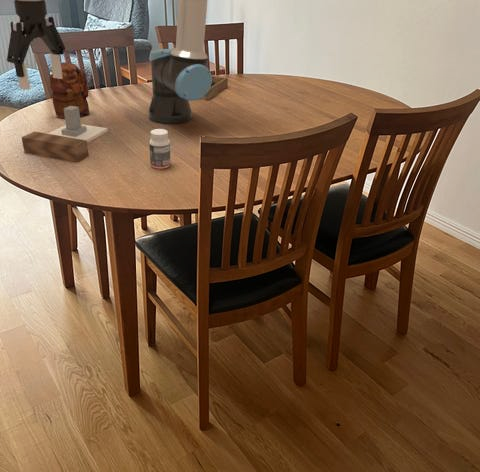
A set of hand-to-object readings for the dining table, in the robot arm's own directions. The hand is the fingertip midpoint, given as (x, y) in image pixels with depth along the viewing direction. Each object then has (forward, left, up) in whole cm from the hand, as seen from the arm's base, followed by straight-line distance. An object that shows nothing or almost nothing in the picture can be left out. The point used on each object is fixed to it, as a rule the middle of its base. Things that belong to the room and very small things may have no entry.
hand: (42, 83), depth 140 cm
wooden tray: (-15, -79, -20) cm, 83 cm away
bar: (-3, +2, -20) cm, 20 cm away
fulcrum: (+1, -13, -20) cm, 23 cm away
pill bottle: (-34, -3, -20) cm, 39 cm away
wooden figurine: (+13, -30, -20) cm, 38 cm away
